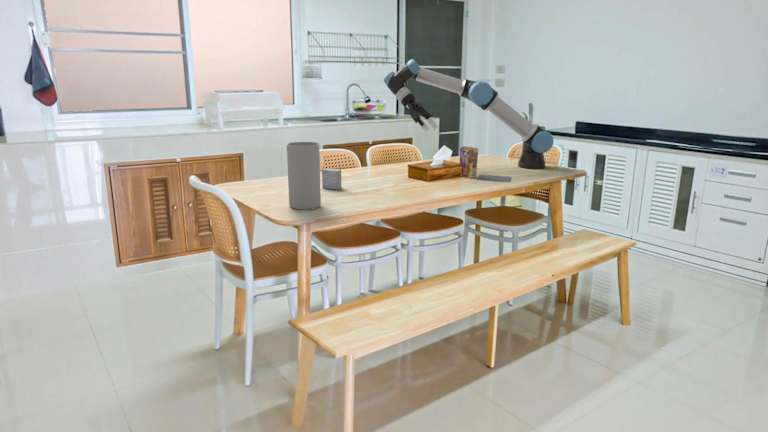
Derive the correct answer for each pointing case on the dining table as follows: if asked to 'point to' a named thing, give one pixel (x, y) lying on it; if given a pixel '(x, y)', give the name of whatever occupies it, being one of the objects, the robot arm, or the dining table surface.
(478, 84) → the robot arm
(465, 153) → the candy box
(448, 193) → the dining table surface
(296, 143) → the cylinder vase
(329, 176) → the medicine box
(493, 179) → the slate mat
